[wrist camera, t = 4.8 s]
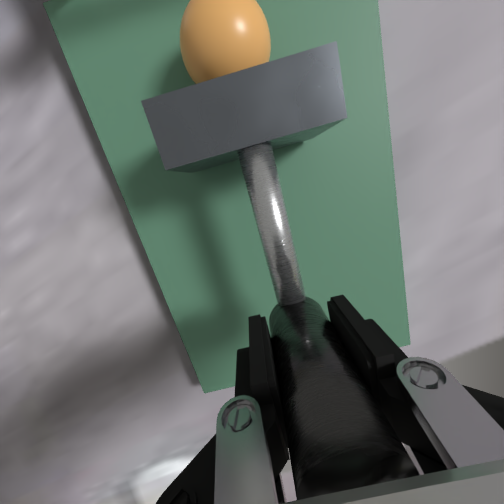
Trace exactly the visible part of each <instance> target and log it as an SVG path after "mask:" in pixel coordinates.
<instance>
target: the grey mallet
mask: <svg viewBox="0 0 504 504" xmlns="http://www.w3.org/2000/svg"><path fill="white" fill-rule="evenodd" d="M141 103H142V106H143V108H144V111H145V114H146V117H147V120H148V122H149V125H150V128H151V131H152V134H153V137H154V139H155V142H156V145H157V148H158V151H159V154H160V156H161V159H162V162H163V165H164V168H165V170H167V171H176V172H186V173H194V172H198V171H201V170H205V169H208V168H212V167H215V166H219V165H222V164H226V163H229V162H233V161H236V160H239V161H240V164H241V168H242V172H243V176H244V179H245V183H246V187H247V191H248V194H249V198H250V202H251V206H252V209H253V213H254V217H255V221H256V224H257V228H258V232H259V236H260V239H261V243H262V247H263V251H264V254H265V258H266V262H267V266H268V269H269V273H270V277H271V281H272V284H273V288H274V292H275V296H276V299H277V303H278V304H277V305H276V306H275V307H274V308H273V310H272V311H271V314H270V317H269V328H270V334H271V340H272V346H273V352H274V359H275V365H276V371H277V377H278V383H279V389H280V395H281V401H282V408H283V416H284V422H285V428H286V434H287V441H288V447H289V453H290V459H291V466H292V472H293V478H294V485H295V491H296V497H297V500H301V499H306V498H311V497H315V496H320V495H325V494H330V493H335V492H340V491H345V490H350V489H355V488H359V487H364V486H369V485H374V484H379V483H384V482H389V481H394V480H399V479H404V478H409V477H414V476H419V475H420V474H419V472H418V470H417V468H416V466H415V465H414V463H413V461H412V460H411V458H410V456H409V455H408V453H407V451H406V449H405V448H404V446H403V444H402V443H401V441H400V439H399V438H398V436H397V434H396V433H395V431H394V429H393V427H392V426H391V424H390V422H389V421H388V419H387V417H386V416H385V414H384V412H383V411H382V409H381V407H380V405H379V404H378V402H377V400H376V399H375V397H374V395H373V394H372V392H371V390H370V388H369V387H368V385H367V383H366V382H365V380H364V378H363V377H362V375H361V373H360V372H359V370H358V368H357V366H356V365H355V363H354V361H353V360H352V358H351V356H350V355H349V353H348V351H347V350H346V348H345V346H344V344H343V343H342V341H341V339H340V338H339V336H338V334H337V333H336V331H335V329H334V327H333V326H332V324H331V322H330V321H329V319H328V317H327V316H326V314H325V312H324V311H323V309H322V307H321V306H320V305H319V303H317V302H316V301H315V300H313V299H311V298H309V297H306V295H305V290H304V286H303V282H302V277H301V273H300V268H299V264H298V259H297V255H296V251H295V246H294V242H293V237H292V233H291V229H290V224H289V220H288V215H287V211H286V207H285V202H284V198H283V193H282V189H281V185H280V180H279V176H278V171H277V167H276V163H275V158H274V154H273V150H275V149H278V148H282V147H285V146H289V145H292V144H296V143H299V142H303V141H306V140H310V139H313V138H315V137H316V136H318V135H320V134H321V133H323V132H325V131H326V130H328V129H330V128H331V127H333V126H335V125H336V124H338V123H340V122H341V121H343V120H345V119H346V118H347V111H346V104H345V97H344V89H343V82H342V75H341V68H340V61H339V54H338V46H337V41H335V42H332V43H329V44H325V45H322V46H319V47H316V48H312V49H309V50H306V51H302V52H299V53H296V54H293V55H289V56H286V57H283V58H280V59H276V60H273V61H270V62H266V63H263V64H260V65H257V66H253V67H250V68H247V69H244V70H240V71H237V72H234V73H230V74H227V75H224V76H221V77H217V78H214V79H211V80H208V81H204V82H201V83H198V84H194V85H191V86H188V87H185V88H181V89H178V90H175V91H172V92H168V93H165V94H162V95H158V96H155V97H152V98H149V99H145V100H142V101H141Z"/></svg>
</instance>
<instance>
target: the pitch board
mask: <svg viewBox="0 0 504 504" xmlns="http://www.w3.org/2000/svg"><path fill="white" fill-rule="evenodd" d="M189 1H190V0H50V1H47V2H44V3H43V5H44V7H45V10H46V12H47V15H48V17H49V19H50V22H51V24H52V27H53V29H54V31H55V34H56V36H57V39H58V41H59V44H60V46H61V48H62V51H63V53H64V56H65V58H66V60H67V63H68V65H69V68H70V70H71V73H72V75H73V77H74V80H75V82H76V85H77V87H78V89H79V92H80V94H81V97H82V99H83V102H84V104H85V106H86V109H87V111H88V114H89V116H90V118H91V121H92V123H93V126H94V128H95V131H96V133H97V135H98V138H99V140H100V143H101V145H102V147H103V150H104V152H105V155H106V157H107V159H108V162H109V164H110V167H111V169H112V172H113V174H114V176H115V179H116V181H117V184H118V186H119V188H120V191H121V193H122V196H123V198H124V201H125V203H126V205H127V208H128V210H129V213H130V215H131V217H132V220H133V222H134V225H135V227H136V230H137V232H138V234H139V237H140V239H141V242H142V244H143V246H144V249H145V251H146V254H147V256H148V259H149V261H150V263H151V266H152V268H153V271H154V273H155V275H156V278H157V280H158V283H159V285H160V288H161V290H162V292H163V295H164V297H165V300H166V302H167V304H168V307H169V309H170V312H171V314H172V317H173V319H174V321H175V324H176V326H177V329H178V331H179V333H180V336H181V338H182V341H183V343H184V345H185V348H186V350H187V353H188V355H189V358H190V360H191V362H192V365H193V367H194V370H195V372H196V374H197V377H198V379H199V382H200V384H201V387H202V389H203V391H204V393H208V392H212V391H216V390H221V389H225V388H229V387H233V386H235V380H236V359H237V350H238V349H242V348H246V347H249V321H248V317H250V316H254V315H258V314H260V316H261V317H264V316H265V317H266V321H267V325H268V328H269V317H270V314H271V311H272V310H273V308H274V307H275V306H276V305H277V304H278V303H277V299H276V296H275V292H274V288H273V284H272V281H271V277H270V273H269V269H268V266H267V262H266V258H265V254H264V251H263V247H262V243H261V239H260V236H259V232H258V228H257V224H256V221H255V217H254V213H253V209H252V206H251V202H250V198H249V194H248V191H247V187H246V183H245V179H244V176H243V172H242V168H241V164H240V161H239V160H236V161H233V162H229V163H226V164H222V165H219V166H215V167H212V168H208V169H205V170H201V171H198V172H194V173H186V172H176V171H167V170H165V168H164V165H163V162H162V159H161V156H160V154H159V151H158V148H157V145H156V142H155V139H154V137H153V134H152V131H151V128H150V125H149V122H148V120H147V117H146V114H145V111H144V108H143V106H142V103H141V101H142V100H145V99H149V98H152V97H155V96H158V95H162V94H165V93H168V92H172V91H175V90H178V89H181V88H185V87H188V86H191V85H194V84H195V82H194V81H193V80H192V78H191V77H190V75H189V73H188V71H187V69H186V67H185V64H184V62H183V58H182V54H181V49H180V26H181V21H182V17H183V14H184V11H185V9H186V7H187V5H188V3H189ZM256 1H257V3H258V4H259V6H260V7H261V9H262V11H263V13H264V15H265V18H266V20H267V23H268V27H269V32H270V39H271V51H270V59H269V62H270V61H273V60H276V59H280V58H283V57H286V56H289V55H293V54H296V53H299V52H302V51H306V50H309V49H312V48H316V47H319V46H322V45H325V44H329V43H332V42H335V41H337V46H338V54H339V61H340V68H341V75H342V82H343V89H344V97H345V104H346V111H347V118H346V119H345V120H343V121H341V122H340V123H338V124H336V125H335V126H333V127H331V128H330V129H328V130H326V131H325V132H323V133H321V134H320V135H318V136H316V137H315V138H313V139H310V140H306V141H303V142H299V143H296V144H292V145H289V146H285V147H282V148H278V149H275V150H273V154H274V158H275V163H276V167H277V171H278V176H279V180H280V185H281V189H282V193H283V198H284V202H285V207H286V211H287V215H288V220H289V224H290V229H291V233H292V237H293V242H294V246H295V251H296V255H297V259H298V264H299V268H300V273H301V277H302V282H303V286H304V290H305V295H306V297H309V298H311V299H313V300H315V301H316V302H317V303H319V305H320V306H321V307H322V309H323V311H324V312H325V314H326V316H327V317H328V319H329V321H330V317H329V312H328V306H327V301H330V298H331V297H334V296H338V295H344V296H345V297H346V298H347V299H348V301H349V302H350V303H351V304H352V305H353V306H354V308H355V309H356V310H357V311H358V312H359V313H360V315H361V316H362V317H363V318H364V319H365V320H366V319H373V320H374V321H375V322H376V323H377V324H378V325H379V326H380V327H381V328H382V330H383V331H384V332H385V333H386V334H387V335H388V336H389V337H390V338H391V339H392V340H393V342H394V343H395V344H396V345H397V346H398V347H402V346H406V345H410V334H409V324H408V313H407V303H406V292H405V282H404V271H403V261H402V250H401V240H400V229H399V219H398V208H397V197H396V187H395V176H394V166H393V155H392V145H391V134H390V124H389V113H388V103H387V92H386V82H385V71H384V60H383V50H382V39H381V29H380V18H379V8H378V0H256ZM269 332H270V328H269ZM270 336H271V334H270Z"/></svg>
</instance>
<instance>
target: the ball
mask: <svg viewBox="0 0 504 504" xmlns="http://www.w3.org/2000/svg"><path fill="white" fill-rule="evenodd" d="M180 49H181V54H182V58H183V62H184V64H185V67H186V69H187V71H188V73H189V75H190V77H191V78H192V80H193V81H194V82H195V84H198V83H201V82H204V81H208V80H211V79H214V78H217V77H221V76H224V75H227V74H230V73H234V72H237V71H240V70H244V69H247V68H250V67H253V66H257V65H260V64H263V63H266V62H269V59H270V51H271V39H270V32H269V27H268V23H267V20H266V18H265V15H264V13H263V11H262V9H261V7H260V6H259V4H258V3H257V1H256V0H190V1H189V3H188V5H187V7H186V9H185V11H184V14H183V17H182V21H181V26H180Z"/></svg>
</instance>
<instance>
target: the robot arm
mask: <svg viewBox="0 0 504 504" xmlns="http://www.w3.org/2000/svg"><path fill="white" fill-rule="evenodd" d="M327 306H328V312H329V317H330V322H331V324H332V326H333V327H334V329H335V331H336V333H337V334H338V336H339V338H340V339H341V341H342V343H343V344H344V346H345V348H346V350H347V351H348V353H349V355H350V356H351V358H352V360H353V361H354V363H355V365H356V366H357V368H358V370H359V372H360V373H361V375H362V377H363V378H364V380H365V382H366V383H367V385H368V387H369V388H370V390H371V392H372V394H373V395H374V397H375V399H376V400H377V402H378V404H379V405H380V407H381V409H382V411H383V412H384V414H385V416H386V417H387V419H388V421H389V422H390V424H391V426H392V427H393V429H394V431H395V433H396V434H397V436H398V438H399V439H400V441H401V442H402V443H404V445H405V448H406V451H407V453H408V455H409V456H410V458H411V460H412V461H413V463H414V465H415V466H416V468H417V470H418V472H419V474H420V475H419V476H414V477H409V478H404V479H399V480H394V481H389V482H384V483H379V484H374V485H369V486H364V487H359V488H355V489H350V490H345V491H340V492H335V493H330V494H325V495H320V496H315V497H311V498H306V499H301V500H296V501H292V502H286V497H285V492H284V487H283V482H282V477H281V473H280V472H281V471H282V469H283V467H284V466H285V464H286V463H287V460H289V452H288V448H289V447H288V441H287V434H286V428H285V422H284V416H283V408H282V401H281V395H280V389H279V383H278V377H277V371H276V365H275V359H274V352H273V346H272V340H271V336H270V332H269V328H268V325H267V321H266V317H265V316H264V317H261V316H260V314H258V315H254V316H250V317H248V321H249V347H246V348H242V349H238V350H237V359H236V380H235V397H234V398H232V399H230V400H229V401H228V402H226V403H225V404H224V405H223V407H222V408H221V409H220V411H219V413H218V417H217V426H216V434H215V435H214V436H213V438H212V439H211V440H210V441H209V442H208V443H207V444H206V445H205V446H204V448H203V449H202V450H201V451H200V452H199V453H198V454H197V455H196V457H195V458H194V459H193V460H192V461H191V462H190V463H189V464H188V465H187V467H186V468H185V469H184V470H183V471H182V472H181V473H180V474H179V476H178V477H177V478H176V479H175V480H174V481H173V482H172V483H171V484H170V486H169V487H168V488H167V489H166V490H165V491H164V492H163V494H162V495H161V496H160V498H159V499H158V501H157V502H156V504H504V398H502V397H499V396H496V395H492V394H489V393H486V392H483V391H480V390H477V389H473V388H470V387H467V386H464V385H461V384H460V383H459V381H458V380H457V379H456V378H455V377H454V376H453V375H452V374H451V373H450V372H449V371H448V370H447V369H446V368H445V367H444V366H442V365H441V364H439V363H437V362H435V361H433V360H430V359H427V358H421V357H410V358H408V357H407V356H406V355H405V354H404V352H403V351H402V350H401V349H400V348H399V347H398V346H397V345H396V344H395V343H394V342H393V340H392V339H391V338H390V337H389V336H388V335H387V334H386V333H385V332H384V331H383V330H382V328H381V327H380V326H379V325H378V324H377V323H376V322H375V321H374V320H373V319H366V320H365V319H364V318H363V317H362V316H361V315H360V313H359V312H358V311H357V310H356V309H355V308H354V306H353V305H352V304H351V303H350V302H349V301H348V299H347V298H346V297H345V296H344V295H338V296H334V297H331V298H330V301H327Z"/></svg>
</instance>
